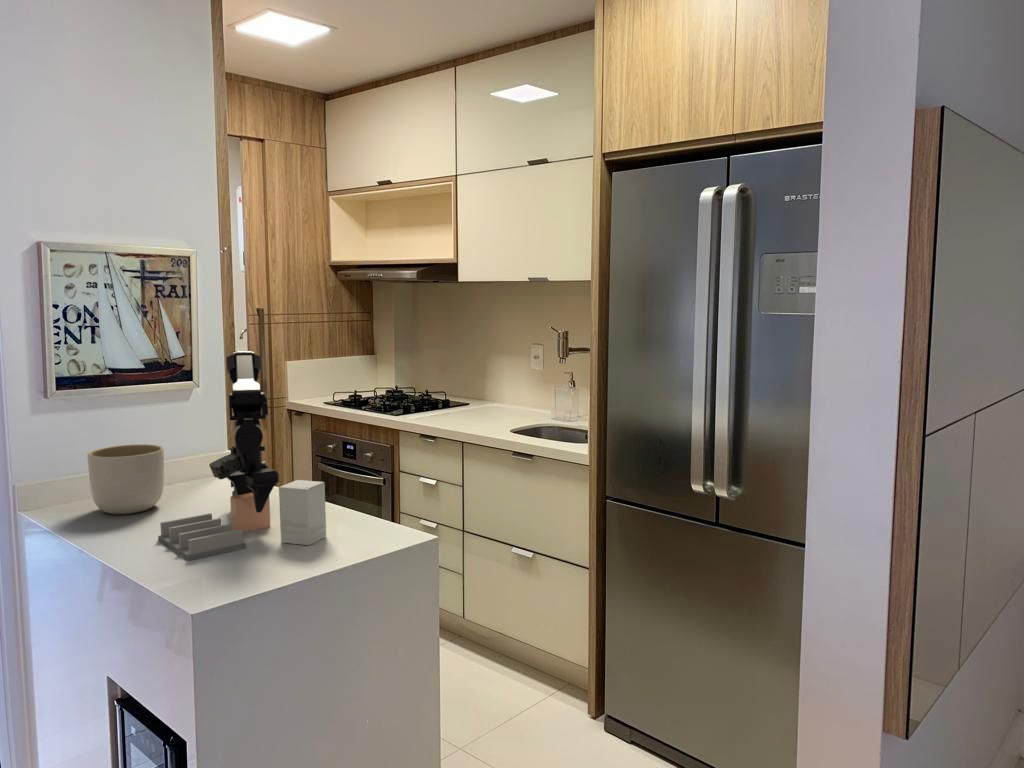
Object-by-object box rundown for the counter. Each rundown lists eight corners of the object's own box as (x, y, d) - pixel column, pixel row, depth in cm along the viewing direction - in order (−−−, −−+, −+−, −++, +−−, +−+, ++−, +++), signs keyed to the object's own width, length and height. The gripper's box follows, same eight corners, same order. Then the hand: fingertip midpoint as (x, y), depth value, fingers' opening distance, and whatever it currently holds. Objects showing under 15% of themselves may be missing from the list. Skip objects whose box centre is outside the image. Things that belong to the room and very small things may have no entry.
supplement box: (327, 536, 171) (326, 481, 169) (308, 546, 164) (306, 489, 162) (299, 533, 173) (297, 478, 172) (279, 542, 166) (277, 486, 165)
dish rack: (212, 529, 176) (211, 512, 175) (245, 547, 163) (244, 529, 162) (158, 540, 168) (157, 522, 167) (188, 560, 154) (187, 541, 154)
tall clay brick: (264, 523, 181) (263, 490, 180) (270, 526, 178) (269, 493, 178) (231, 530, 175) (230, 496, 174) (237, 533, 173) (235, 499, 172)
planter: (171, 512, 190) (168, 452, 188) (94, 523, 180) (91, 460, 179) (159, 497, 204) (157, 441, 202) (87, 506, 194) (84, 448, 193)
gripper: (197, 440, 176) (200, 506, 178) (230, 452, 162) (232, 523, 164) (244, 435, 184) (246, 498, 185) (279, 446, 170) (281, 514, 172)
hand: (250, 508), depth 176 cm, fingers open, 9 cm apart
